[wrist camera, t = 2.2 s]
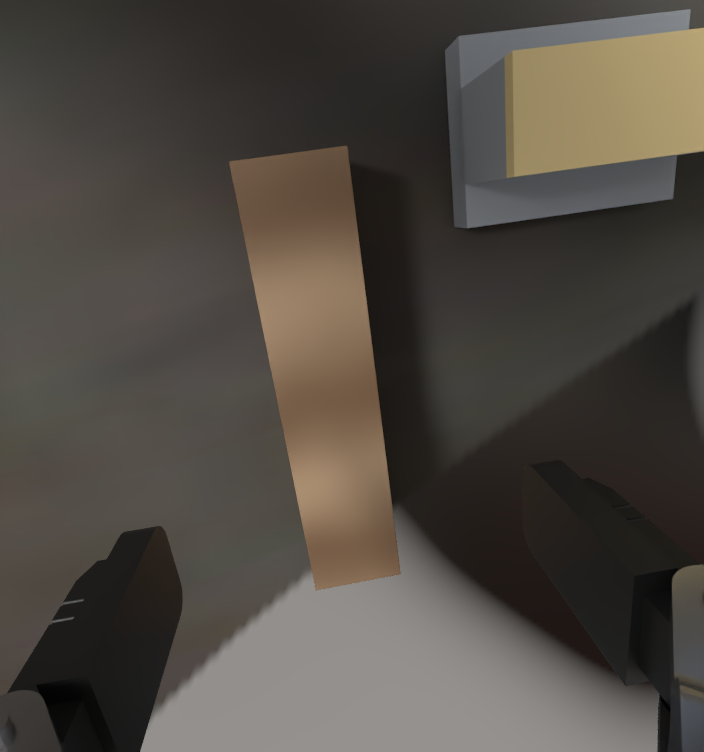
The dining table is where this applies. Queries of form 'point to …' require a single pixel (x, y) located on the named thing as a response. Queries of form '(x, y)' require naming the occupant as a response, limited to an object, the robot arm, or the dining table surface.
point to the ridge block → (572, 116)
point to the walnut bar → (321, 356)
